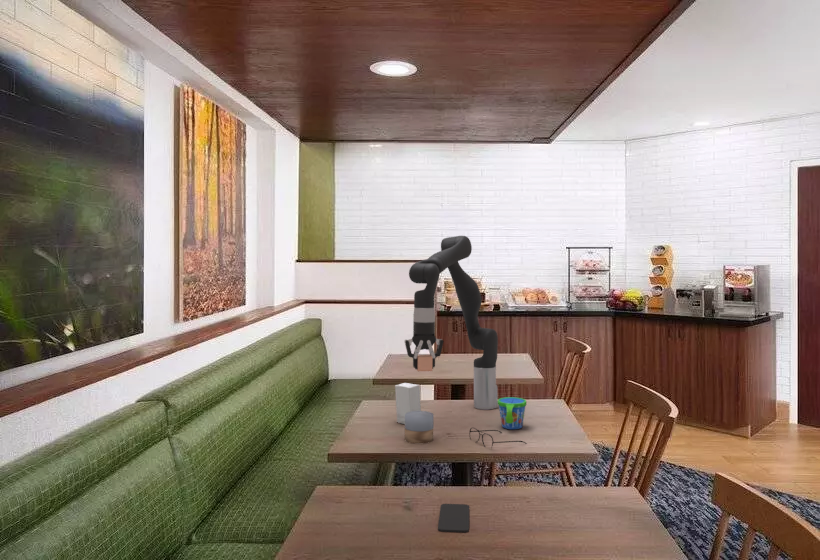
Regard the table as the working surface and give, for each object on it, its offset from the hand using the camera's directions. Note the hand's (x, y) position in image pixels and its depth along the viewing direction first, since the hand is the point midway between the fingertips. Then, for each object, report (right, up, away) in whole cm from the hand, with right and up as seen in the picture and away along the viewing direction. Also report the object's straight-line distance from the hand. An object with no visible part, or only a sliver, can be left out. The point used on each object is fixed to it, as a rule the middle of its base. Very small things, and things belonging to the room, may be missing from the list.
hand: (423, 368), depth 211 cm
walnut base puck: (-2, -25, 0) cm, 25 cm away
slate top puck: (-2, -20, -1) cm, 20 cm away
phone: (+6, -28, -63) cm, 70 cm away
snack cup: (+33, -24, +12) cm, 43 cm away
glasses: (+25, -25, -4) cm, 36 cm away
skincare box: (-5, -24, +20) cm, 32 cm away
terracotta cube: (0, 0, 0) cm, 0 cm away
